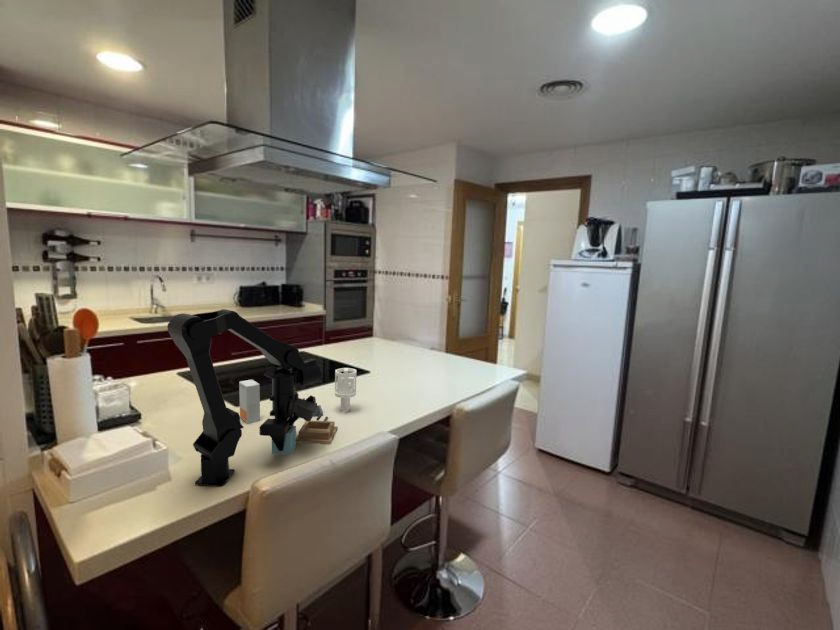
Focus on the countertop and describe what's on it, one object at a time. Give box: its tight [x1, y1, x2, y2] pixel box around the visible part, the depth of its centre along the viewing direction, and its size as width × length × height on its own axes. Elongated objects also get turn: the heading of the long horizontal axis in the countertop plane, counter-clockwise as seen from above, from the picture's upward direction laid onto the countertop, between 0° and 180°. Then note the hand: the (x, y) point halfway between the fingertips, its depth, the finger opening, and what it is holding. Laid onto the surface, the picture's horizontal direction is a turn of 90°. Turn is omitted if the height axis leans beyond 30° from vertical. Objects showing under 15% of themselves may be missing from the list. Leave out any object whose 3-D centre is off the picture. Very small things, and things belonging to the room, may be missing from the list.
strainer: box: [334, 367, 357, 413], centre depth 139 cm, size 7×7×15 cm
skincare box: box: [238, 379, 261, 424], centre depth 128 cm, size 6×4×12 cm
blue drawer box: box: [271, 425, 297, 455], centre depth 110 cm, size 4×5×6 cm
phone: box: [298, 404, 324, 419], centre depth 135 cm, size 7×14×1 cm, turn 110°
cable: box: [316, 410, 329, 421], centre depth 131 cm, size 11×3×1 cm, turn 0°
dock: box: [296, 420, 338, 445], centre depth 119 cm, size 10×10×3 cm
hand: (284, 446), depth 110 cm, fingers closed on blue drawer box, 4 cm apart
